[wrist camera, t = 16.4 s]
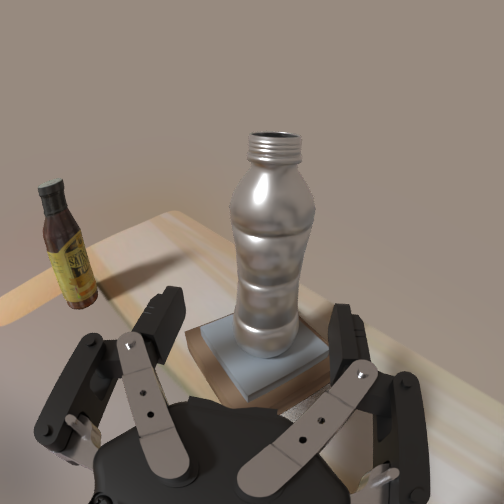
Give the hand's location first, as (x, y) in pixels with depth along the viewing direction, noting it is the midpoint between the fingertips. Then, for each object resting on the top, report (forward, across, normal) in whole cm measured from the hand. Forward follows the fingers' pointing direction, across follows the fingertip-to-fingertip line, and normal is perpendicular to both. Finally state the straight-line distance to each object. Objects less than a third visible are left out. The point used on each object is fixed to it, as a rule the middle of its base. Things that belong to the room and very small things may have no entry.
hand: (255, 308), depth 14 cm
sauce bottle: (+15, +30, +18) cm, 38 cm away
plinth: (+9, 0, +18) cm, 20 cm away
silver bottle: (+8, 0, +13) cm, 15 cm away
